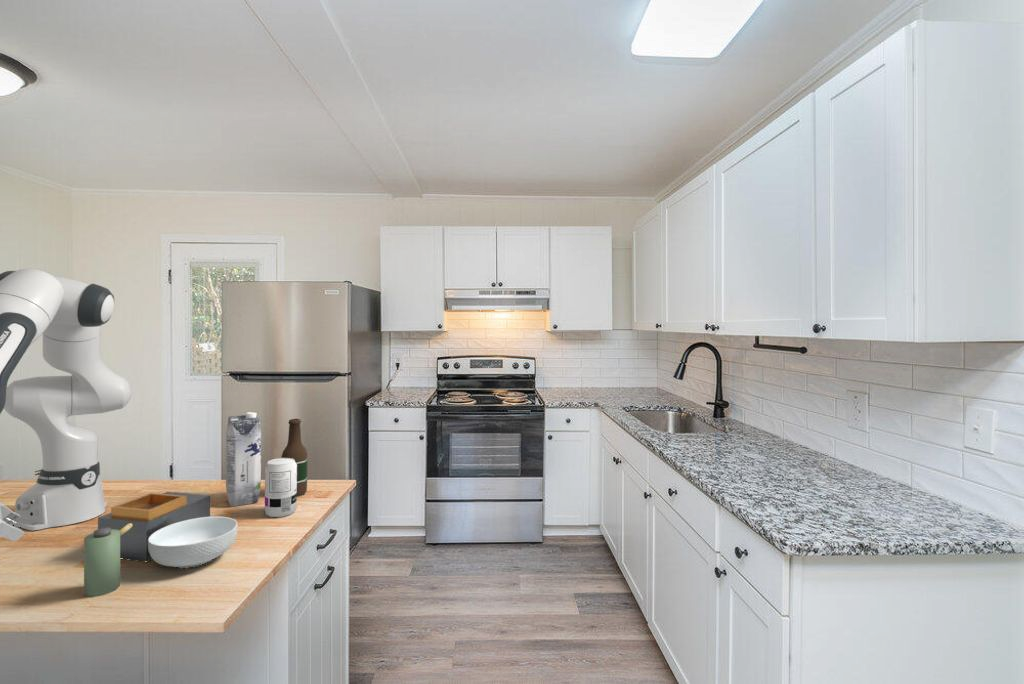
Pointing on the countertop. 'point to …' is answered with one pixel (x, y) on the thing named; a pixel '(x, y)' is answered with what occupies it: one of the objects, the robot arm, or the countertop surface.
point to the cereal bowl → (192, 541)
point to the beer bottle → (297, 455)
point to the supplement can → (280, 487)
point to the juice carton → (243, 459)
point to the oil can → (102, 561)
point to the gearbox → (151, 518)
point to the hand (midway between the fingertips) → (18, 528)
